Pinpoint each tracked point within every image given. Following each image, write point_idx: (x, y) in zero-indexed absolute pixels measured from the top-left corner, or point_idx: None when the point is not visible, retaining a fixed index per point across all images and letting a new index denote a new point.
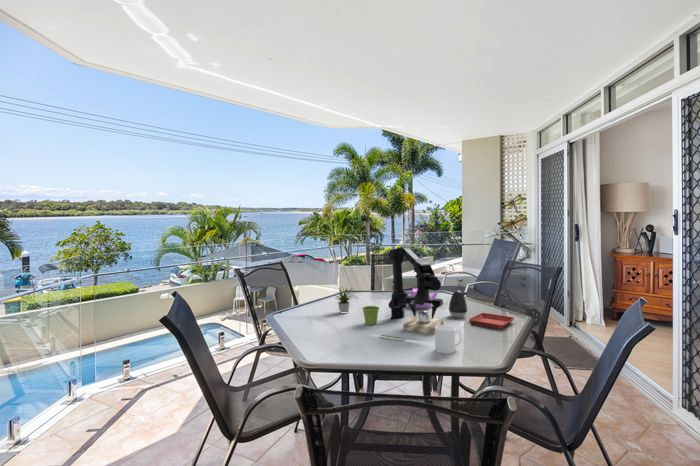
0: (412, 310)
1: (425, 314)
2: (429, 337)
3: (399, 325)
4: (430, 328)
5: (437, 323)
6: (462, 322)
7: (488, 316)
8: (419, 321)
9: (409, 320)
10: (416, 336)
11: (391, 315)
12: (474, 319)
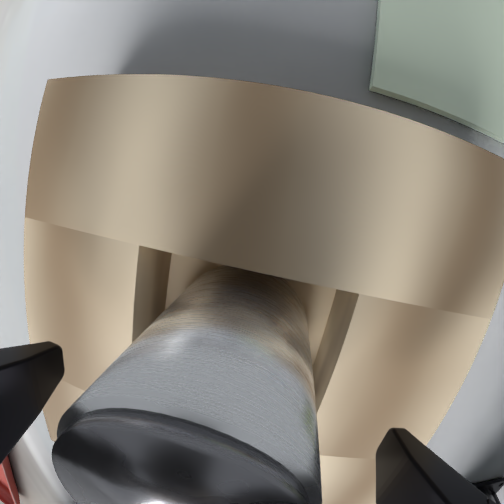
0: (485, 502)
1: (102, 381)
2: (152, 45)
3: (490, 383)
4: (98, 79)
5: (41, 308)
6: (46, 473)
7: (2, 490)
8: (295, 329)
9: (450, 381)
10: (296, 30)
11: (499, 501)
12: (8, 472)
